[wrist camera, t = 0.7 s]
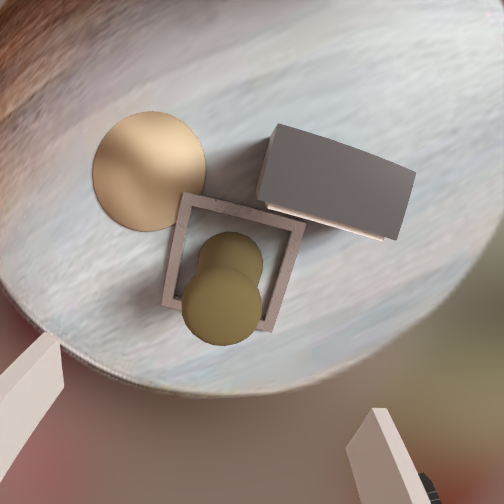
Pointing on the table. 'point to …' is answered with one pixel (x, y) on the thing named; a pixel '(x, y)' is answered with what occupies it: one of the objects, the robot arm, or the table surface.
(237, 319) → the pepper shaker
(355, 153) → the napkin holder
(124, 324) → the table surface
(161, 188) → the tan round coaster
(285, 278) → the taupe square frame
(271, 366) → the table surface
